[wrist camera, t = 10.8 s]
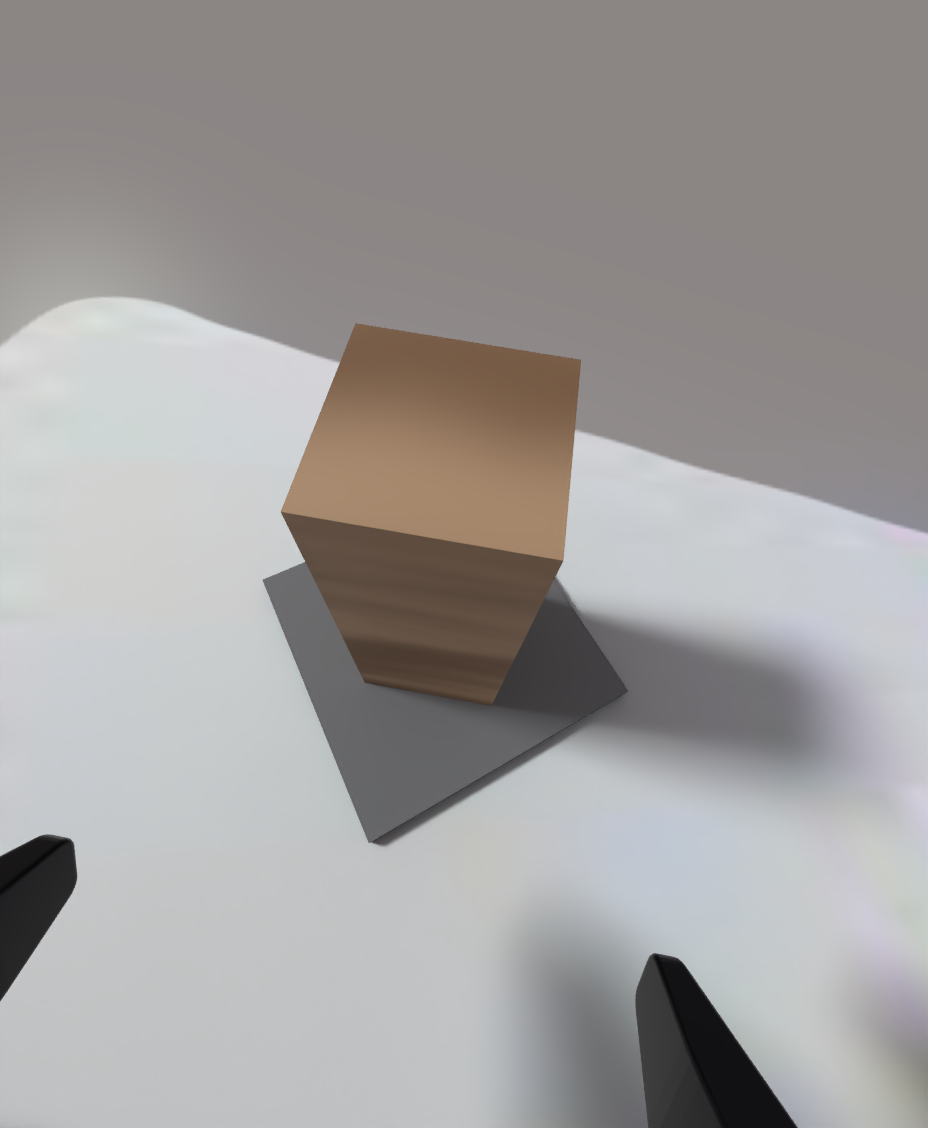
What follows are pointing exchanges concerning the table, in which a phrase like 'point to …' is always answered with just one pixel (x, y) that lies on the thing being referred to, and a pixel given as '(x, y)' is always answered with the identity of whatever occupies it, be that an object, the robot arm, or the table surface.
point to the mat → (436, 706)
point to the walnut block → (436, 505)
